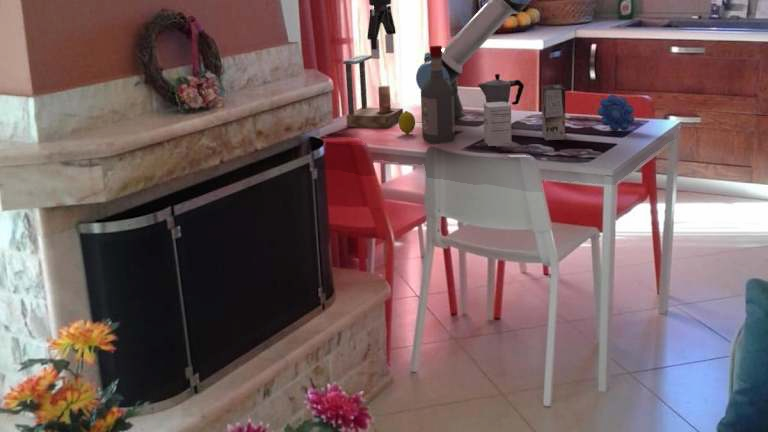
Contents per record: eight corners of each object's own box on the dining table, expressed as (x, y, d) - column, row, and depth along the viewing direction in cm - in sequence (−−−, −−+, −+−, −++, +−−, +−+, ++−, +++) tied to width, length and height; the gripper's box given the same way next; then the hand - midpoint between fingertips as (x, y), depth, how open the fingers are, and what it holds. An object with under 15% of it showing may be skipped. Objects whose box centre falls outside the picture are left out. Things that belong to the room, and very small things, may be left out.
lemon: (417, 132, 299) (416, 109, 297) (412, 136, 294) (411, 112, 292) (402, 132, 301) (401, 109, 299) (397, 136, 296) (395, 112, 294)
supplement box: (483, 142, 282) (483, 102, 278) (506, 140, 282) (506, 101, 278) (488, 147, 275) (487, 106, 271) (512, 145, 275) (511, 105, 271)
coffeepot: (480, 131, 297) (479, 77, 291) (476, 125, 306) (475, 73, 300) (526, 128, 297) (526, 74, 292) (521, 122, 306) (521, 70, 301)
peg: (393, 122, 318) (391, 85, 314) (389, 124, 314) (387, 87, 310) (382, 121, 319) (380, 85, 315) (378, 124, 316) (376, 87, 312)
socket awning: (403, 119, 321) (400, 55, 314) (389, 127, 309) (385, 61, 302) (362, 118, 327) (358, 55, 320) (347, 126, 315) (342, 61, 308)
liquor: (432, 144, 282) (429, 49, 273) (420, 139, 290) (416, 46, 281) (458, 140, 285) (455, 46, 276) (444, 135, 293) (442, 43, 284)
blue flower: (595, 133, 285) (596, 96, 281) (597, 129, 291) (598, 92, 287) (633, 134, 281) (634, 96, 278) (634, 129, 287) (635, 92, 284)
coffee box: (565, 139, 279) (566, 88, 274) (545, 140, 279) (545, 89, 275) (560, 133, 288) (561, 83, 283) (541, 134, 288) (541, 84, 283)
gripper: (382, -10, 315) (385, 50, 322) (355, -4, 293) (359, 61, 300) (402, -11, 313) (405, 50, 319) (376, -5, 291) (379, 61, 297)
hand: (382, 55), depth 309 cm, fingers open, 13 cm apart
